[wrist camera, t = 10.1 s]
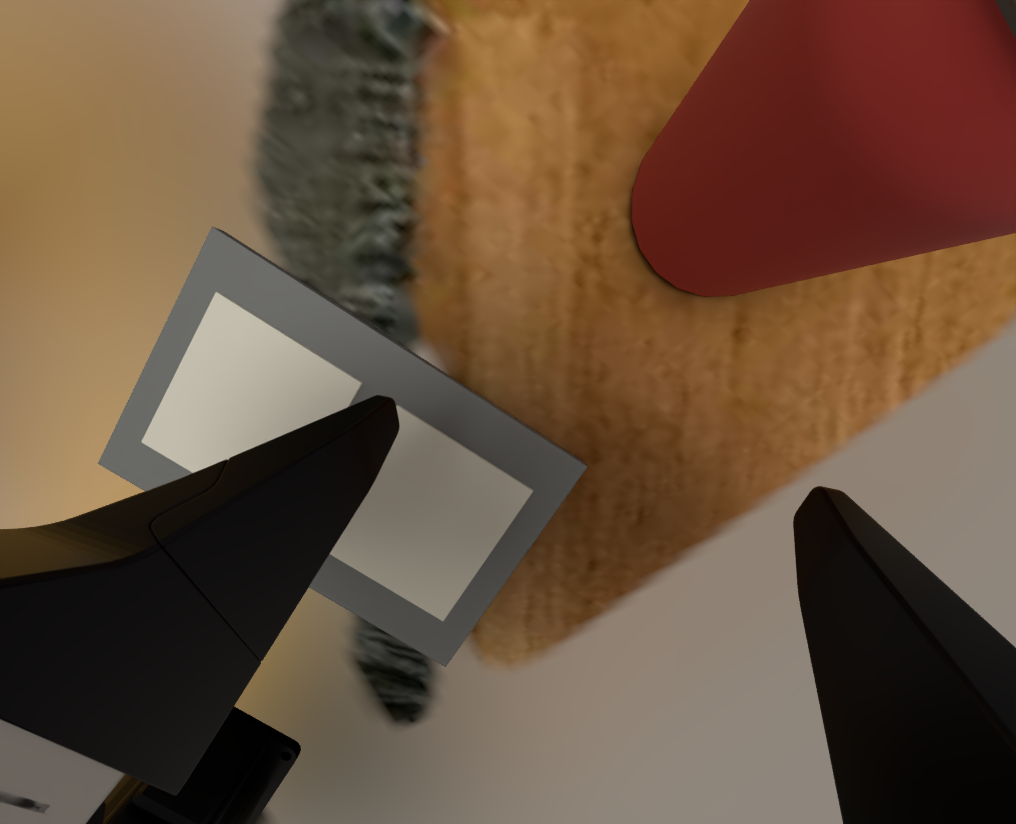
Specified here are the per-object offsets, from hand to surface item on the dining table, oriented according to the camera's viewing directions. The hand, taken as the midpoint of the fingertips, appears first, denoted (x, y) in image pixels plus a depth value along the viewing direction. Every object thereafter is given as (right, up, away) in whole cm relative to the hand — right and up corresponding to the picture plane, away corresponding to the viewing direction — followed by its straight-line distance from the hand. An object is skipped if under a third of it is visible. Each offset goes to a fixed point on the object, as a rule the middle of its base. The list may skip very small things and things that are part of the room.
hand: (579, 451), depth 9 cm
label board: (-8, -1, +8) cm, 12 cm away
